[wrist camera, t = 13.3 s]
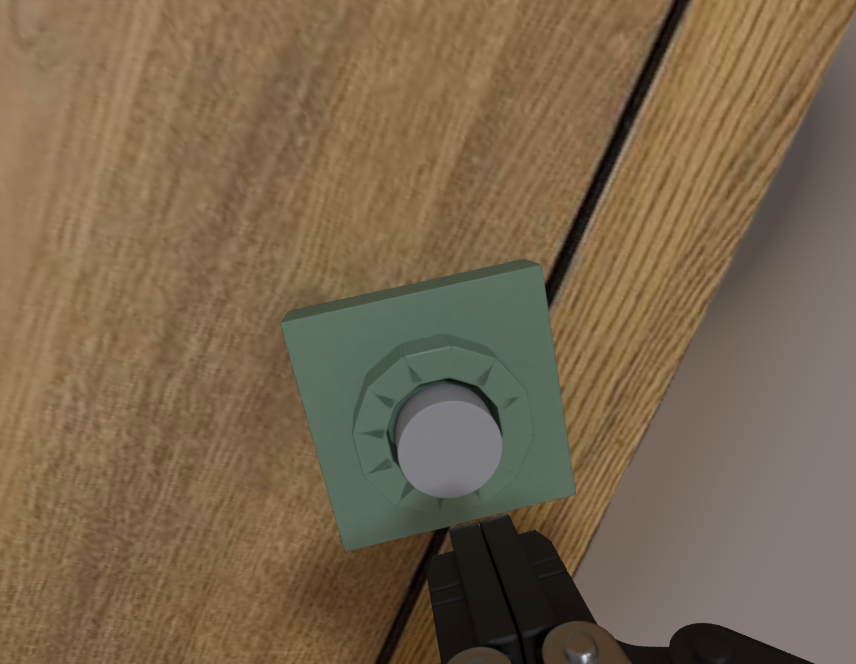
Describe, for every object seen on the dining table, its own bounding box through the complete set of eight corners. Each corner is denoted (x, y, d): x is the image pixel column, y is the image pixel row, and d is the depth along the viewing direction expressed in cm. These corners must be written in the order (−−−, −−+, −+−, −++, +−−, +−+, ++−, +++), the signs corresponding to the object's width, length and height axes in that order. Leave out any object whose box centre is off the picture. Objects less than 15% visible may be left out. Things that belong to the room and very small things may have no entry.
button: (482, 373, 19) (493, 389, 18) (498, 461, 20) (510, 484, 19) (385, 396, 19) (387, 415, 18) (406, 483, 20) (410, 509, 18)
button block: (525, 258, 22) (558, 270, 18) (558, 470, 25) (593, 519, 21) (288, 311, 22) (271, 334, 18) (346, 522, 24) (342, 582, 20)
